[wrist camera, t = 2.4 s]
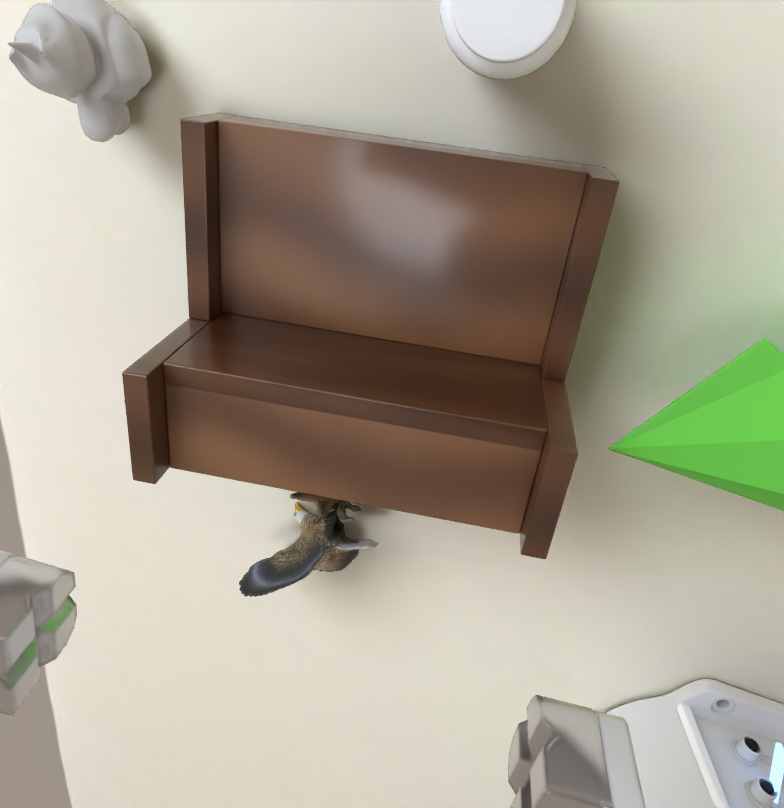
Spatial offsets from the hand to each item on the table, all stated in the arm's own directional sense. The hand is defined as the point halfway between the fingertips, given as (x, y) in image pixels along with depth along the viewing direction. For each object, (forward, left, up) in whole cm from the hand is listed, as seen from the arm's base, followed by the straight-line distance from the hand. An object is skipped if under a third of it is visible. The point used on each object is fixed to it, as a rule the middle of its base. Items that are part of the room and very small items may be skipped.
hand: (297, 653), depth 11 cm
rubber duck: (+18, -7, -28) cm, 34 cm away
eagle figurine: (+6, +21, -28) cm, 35 cm away
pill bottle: (-1, -11, -28) cm, 30 cm away
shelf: (+2, +3, -28) cm, 28 cm away
